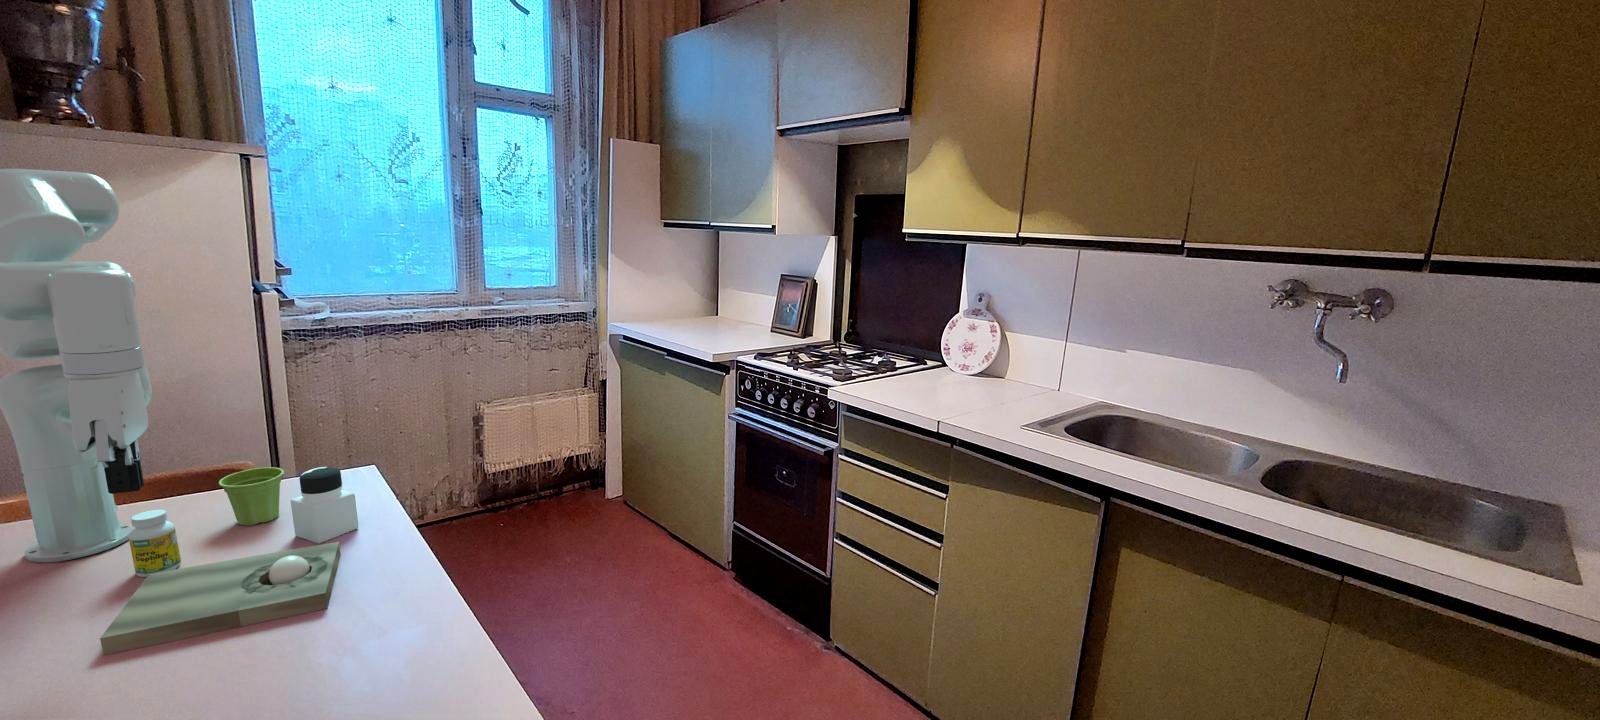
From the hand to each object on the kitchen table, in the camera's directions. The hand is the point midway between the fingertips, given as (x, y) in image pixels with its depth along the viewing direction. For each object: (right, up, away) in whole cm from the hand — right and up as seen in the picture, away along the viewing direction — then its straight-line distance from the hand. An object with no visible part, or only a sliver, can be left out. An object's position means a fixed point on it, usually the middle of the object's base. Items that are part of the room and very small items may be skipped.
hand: (126, 489), depth 91 cm
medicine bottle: (+7, -14, +29) cm, 33 cm away
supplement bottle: (-11, -16, +15) cm, 25 cm away
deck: (+9, -18, +8) cm, 22 cm away
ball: (+14, -15, +11) cm, 23 cm away
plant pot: (-10, -12, +34) cm, 37 cm away
